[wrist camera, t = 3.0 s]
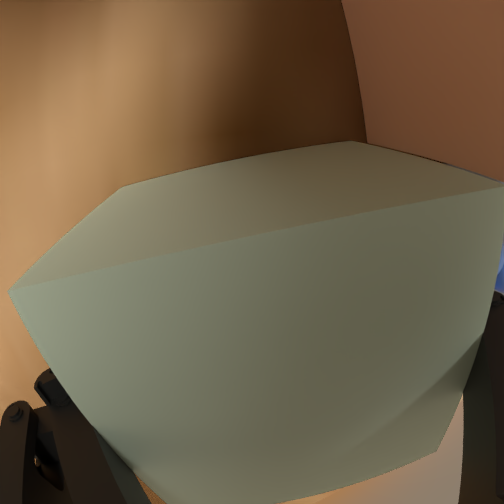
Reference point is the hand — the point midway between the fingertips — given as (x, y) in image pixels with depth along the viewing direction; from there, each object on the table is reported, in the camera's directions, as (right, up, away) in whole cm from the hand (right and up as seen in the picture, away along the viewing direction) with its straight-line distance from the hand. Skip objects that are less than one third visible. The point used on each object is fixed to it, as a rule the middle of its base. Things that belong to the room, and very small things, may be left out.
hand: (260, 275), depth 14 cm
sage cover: (0, 0, +1) cm, 1 cm away
